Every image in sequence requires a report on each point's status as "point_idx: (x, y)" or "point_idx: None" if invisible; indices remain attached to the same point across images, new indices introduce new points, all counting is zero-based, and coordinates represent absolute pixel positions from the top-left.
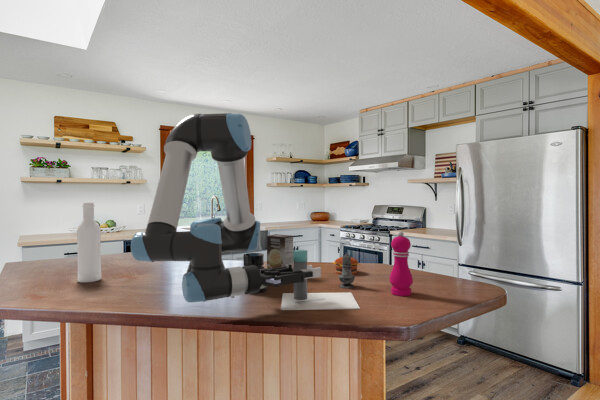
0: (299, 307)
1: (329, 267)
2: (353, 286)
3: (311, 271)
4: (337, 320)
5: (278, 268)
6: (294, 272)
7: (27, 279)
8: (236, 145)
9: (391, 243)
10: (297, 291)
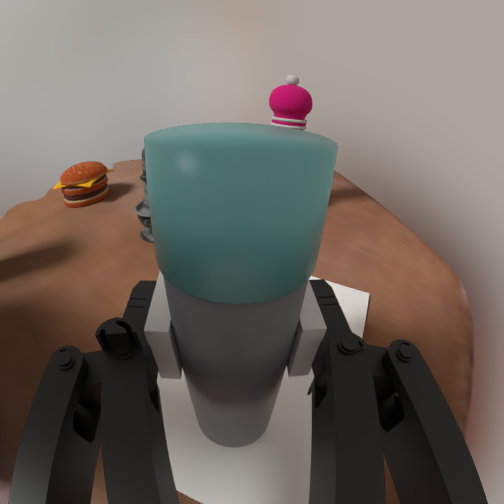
0: (310, 457)
1: (39, 201)
2: None
3: (312, 282)
4: (447, 374)
5: (59, 442)
6: (377, 408)
7: None
8: None
9: (282, 99)
10: (259, 427)
